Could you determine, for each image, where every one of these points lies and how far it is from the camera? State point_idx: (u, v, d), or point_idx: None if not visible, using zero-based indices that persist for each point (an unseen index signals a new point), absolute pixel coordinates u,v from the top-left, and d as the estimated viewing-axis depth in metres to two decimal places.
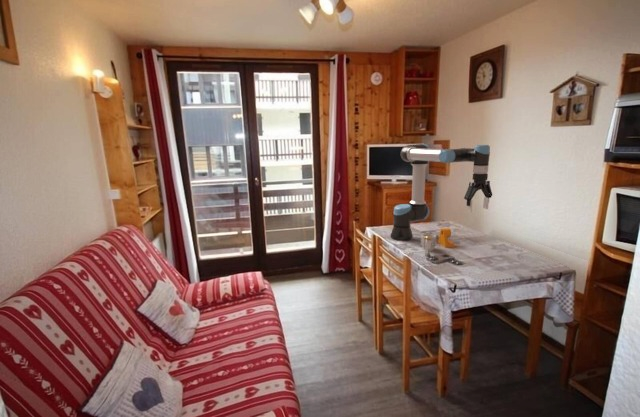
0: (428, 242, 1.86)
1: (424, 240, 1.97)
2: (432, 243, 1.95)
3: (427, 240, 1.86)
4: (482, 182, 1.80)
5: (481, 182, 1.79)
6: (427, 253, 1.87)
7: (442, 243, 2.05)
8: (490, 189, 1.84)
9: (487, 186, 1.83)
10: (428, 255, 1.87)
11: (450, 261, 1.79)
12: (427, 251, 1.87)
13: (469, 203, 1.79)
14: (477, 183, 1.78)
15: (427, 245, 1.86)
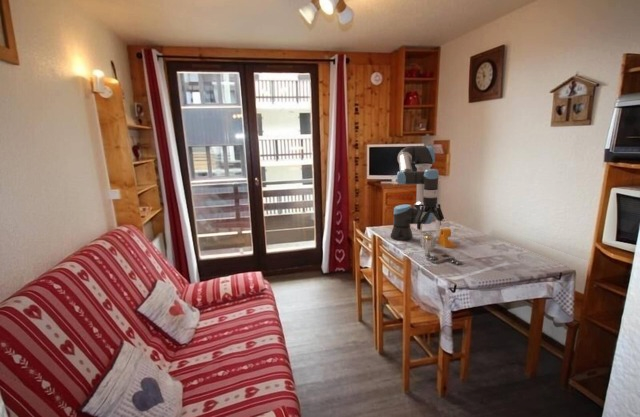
0: (428, 242, 1.86)
1: (424, 240, 1.97)
2: (432, 243, 1.95)
3: (427, 240, 1.86)
4: (432, 206, 1.82)
5: (431, 206, 1.81)
6: (427, 253, 1.87)
7: (442, 243, 2.05)
8: (441, 212, 1.86)
9: (438, 209, 1.85)
10: (428, 255, 1.87)
11: (450, 261, 1.79)
12: (427, 251, 1.87)
13: (419, 226, 1.81)
14: (427, 207, 1.80)
15: (427, 245, 1.86)
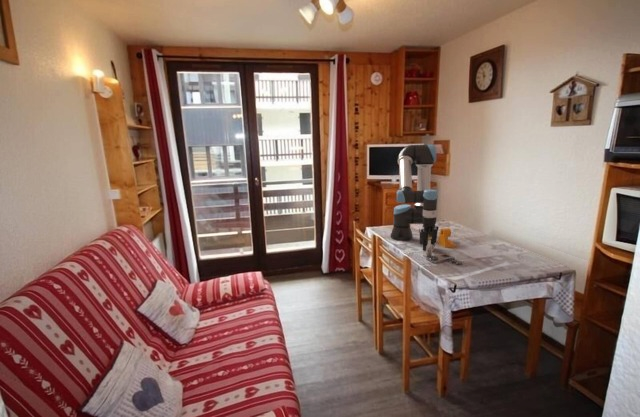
0: (428, 242, 1.86)
1: None
2: None
3: None
4: None
5: (430, 225, 1.84)
6: (427, 253, 1.87)
7: (442, 243, 2.05)
8: (436, 235, 1.87)
9: (435, 231, 1.87)
10: (428, 255, 1.87)
11: (450, 261, 1.79)
12: None
13: (425, 248, 1.86)
14: (426, 227, 1.83)
15: (427, 245, 1.86)
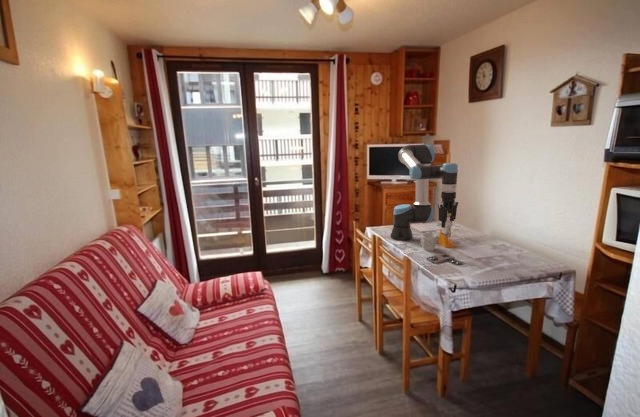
0: (447, 219, 1.78)
1: (424, 240, 1.97)
2: (432, 243, 1.95)
3: None
4: (451, 199, 1.77)
5: (449, 201, 1.76)
6: (446, 230, 1.79)
7: (442, 243, 2.05)
8: (455, 211, 1.80)
9: (454, 207, 1.79)
10: (447, 233, 1.79)
11: (450, 261, 1.79)
12: None
13: (444, 225, 1.78)
14: (445, 202, 1.75)
15: None
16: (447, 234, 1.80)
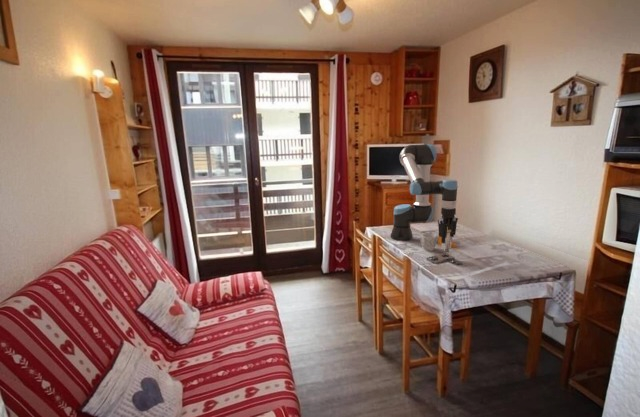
0: (447, 235, 1.80)
1: (424, 240, 1.97)
2: (432, 243, 1.95)
3: (446, 233, 1.80)
4: None
5: (449, 217, 1.78)
6: (446, 247, 1.81)
7: None
8: (455, 227, 1.81)
9: (454, 223, 1.81)
10: (447, 249, 1.81)
11: (450, 261, 1.79)
12: None
13: (444, 240, 1.80)
14: (445, 218, 1.77)
15: None
16: (447, 250, 1.82)
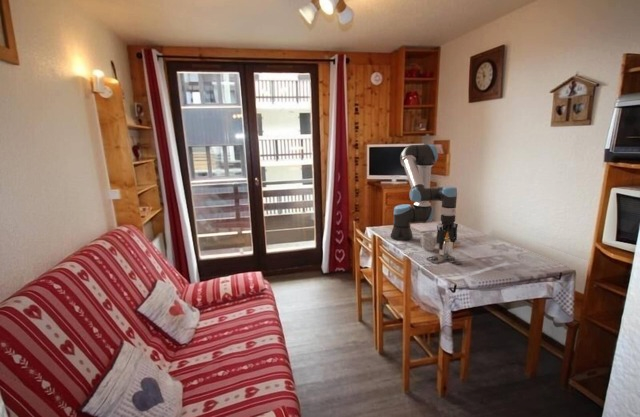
0: (446, 244, 1.81)
1: (424, 240, 1.97)
2: (432, 243, 1.95)
3: (445, 242, 1.81)
4: None
5: (449, 223, 1.79)
6: (445, 255, 1.83)
7: None
8: (456, 233, 1.83)
9: (454, 229, 1.82)
10: (446, 257, 1.83)
11: (450, 261, 1.79)
12: (445, 253, 1.82)
13: (441, 247, 1.80)
14: (445, 225, 1.78)
15: (445, 247, 1.82)
16: None
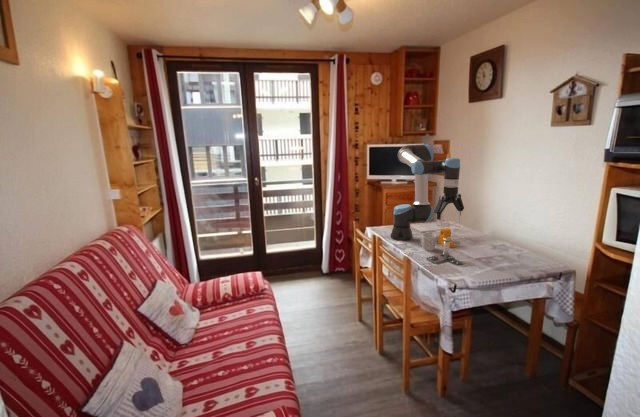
0: (447, 244, 1.81)
1: (424, 240, 1.97)
2: (432, 243, 1.95)
3: (446, 242, 1.81)
4: (453, 196, 1.77)
5: (452, 196, 1.77)
6: (445, 255, 1.83)
7: (442, 243, 2.05)
8: (461, 202, 1.81)
9: (458, 199, 1.81)
10: (446, 257, 1.83)
11: (450, 261, 1.79)
12: (445, 253, 1.82)
13: (439, 217, 1.77)
14: (447, 197, 1.76)
15: (445, 247, 1.82)
16: None
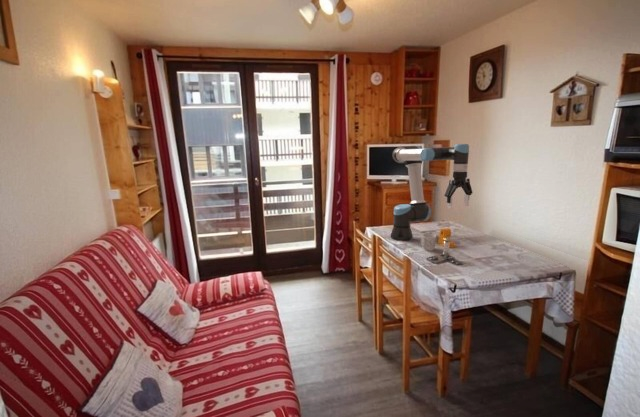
0: (447, 244, 1.81)
1: (424, 240, 1.97)
2: (432, 243, 1.95)
3: (446, 242, 1.81)
4: (462, 180, 1.85)
5: (461, 180, 1.85)
6: (445, 255, 1.83)
7: (442, 243, 2.05)
8: (470, 187, 1.89)
9: (467, 184, 1.89)
10: (446, 257, 1.83)
11: (450, 261, 1.79)
12: (445, 253, 1.82)
13: (449, 200, 1.85)
14: (457, 181, 1.84)
15: (445, 247, 1.82)
16: None
